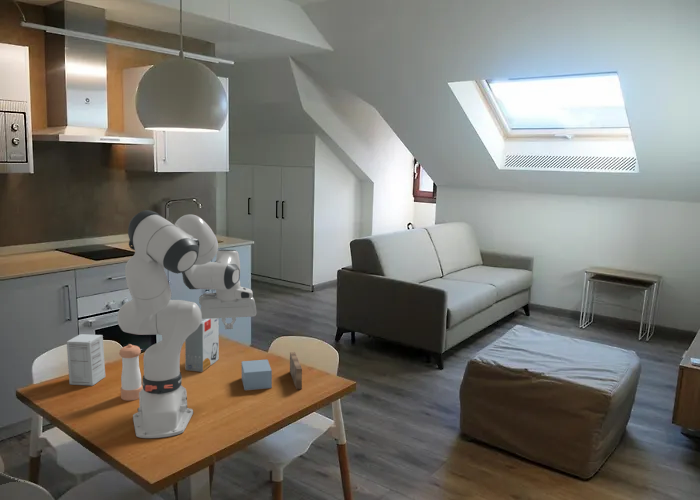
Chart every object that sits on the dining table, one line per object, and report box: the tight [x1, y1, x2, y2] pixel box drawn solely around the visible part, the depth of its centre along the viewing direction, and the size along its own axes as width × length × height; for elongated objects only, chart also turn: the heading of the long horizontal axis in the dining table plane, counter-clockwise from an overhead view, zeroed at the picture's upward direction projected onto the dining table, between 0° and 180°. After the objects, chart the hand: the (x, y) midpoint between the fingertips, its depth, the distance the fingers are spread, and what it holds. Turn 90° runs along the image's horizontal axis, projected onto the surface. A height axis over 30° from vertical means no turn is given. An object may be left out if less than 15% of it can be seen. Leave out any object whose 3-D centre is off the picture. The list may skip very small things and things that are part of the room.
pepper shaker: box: [119, 343, 143, 401], centre depth 198 cm, size 7×7×19 cm
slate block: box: [241, 359, 273, 391], centre depth 214 cm, size 12×10×7 cm
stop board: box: [289, 351, 303, 390], centre depth 217 cm, size 18×2×8 cm, turn 14°
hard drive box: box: [184, 318, 220, 373], centre depth 230 cm, size 16×8×20 cm, turn 168°
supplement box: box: [66, 333, 106, 387], centre depth 211 cm, size 10×9×17 cm
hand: (228, 328), depth 208 cm, fingers closed
